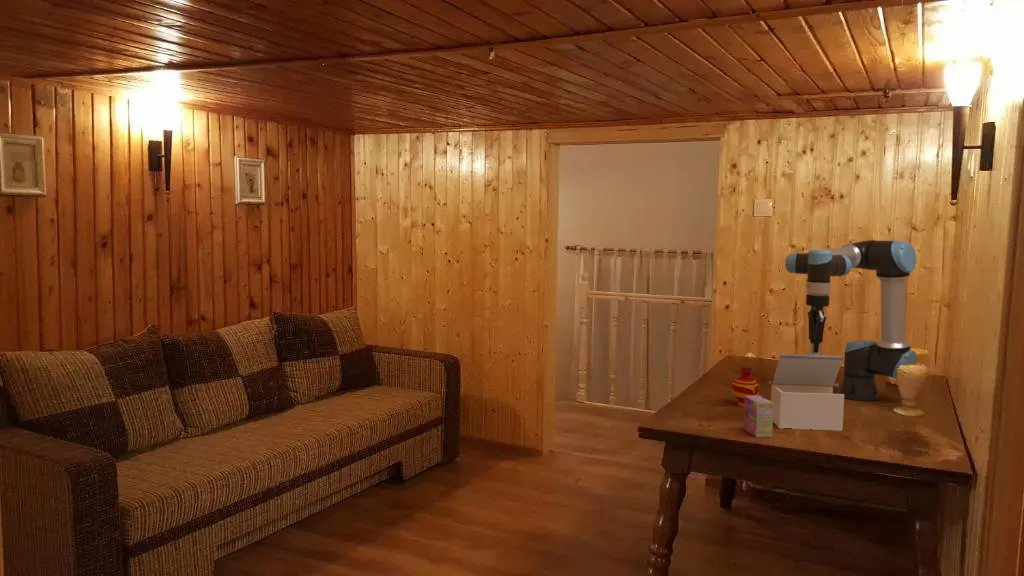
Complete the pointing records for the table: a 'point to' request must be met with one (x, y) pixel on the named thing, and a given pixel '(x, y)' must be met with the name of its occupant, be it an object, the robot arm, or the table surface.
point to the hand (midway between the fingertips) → (814, 361)
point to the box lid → (807, 369)
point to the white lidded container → (807, 407)
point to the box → (758, 416)
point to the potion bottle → (745, 385)
